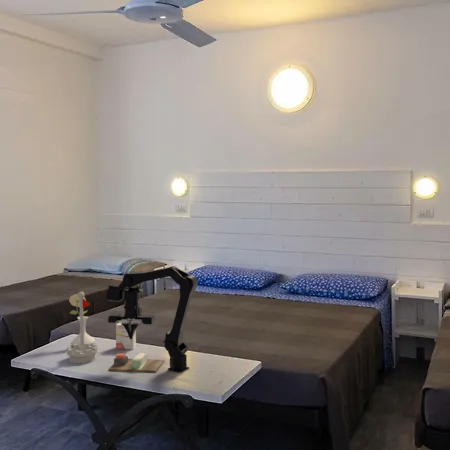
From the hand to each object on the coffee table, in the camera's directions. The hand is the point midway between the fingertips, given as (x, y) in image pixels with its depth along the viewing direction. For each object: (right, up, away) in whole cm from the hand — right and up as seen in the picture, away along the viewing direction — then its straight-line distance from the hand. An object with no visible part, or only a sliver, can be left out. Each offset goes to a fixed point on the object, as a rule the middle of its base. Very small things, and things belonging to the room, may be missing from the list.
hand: (131, 339), depth 237 cm
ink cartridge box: (-7, -10, +29) cm, 31 cm away
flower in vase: (-29, -10, +33) cm, 45 cm away
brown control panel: (+2, -11, 0) cm, 12 cm away
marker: (+3, -11, 0) cm, 11 cm away
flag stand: (-23, -11, +11) cm, 28 cm away
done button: (-5, -9, +1) cm, 10 cm away
